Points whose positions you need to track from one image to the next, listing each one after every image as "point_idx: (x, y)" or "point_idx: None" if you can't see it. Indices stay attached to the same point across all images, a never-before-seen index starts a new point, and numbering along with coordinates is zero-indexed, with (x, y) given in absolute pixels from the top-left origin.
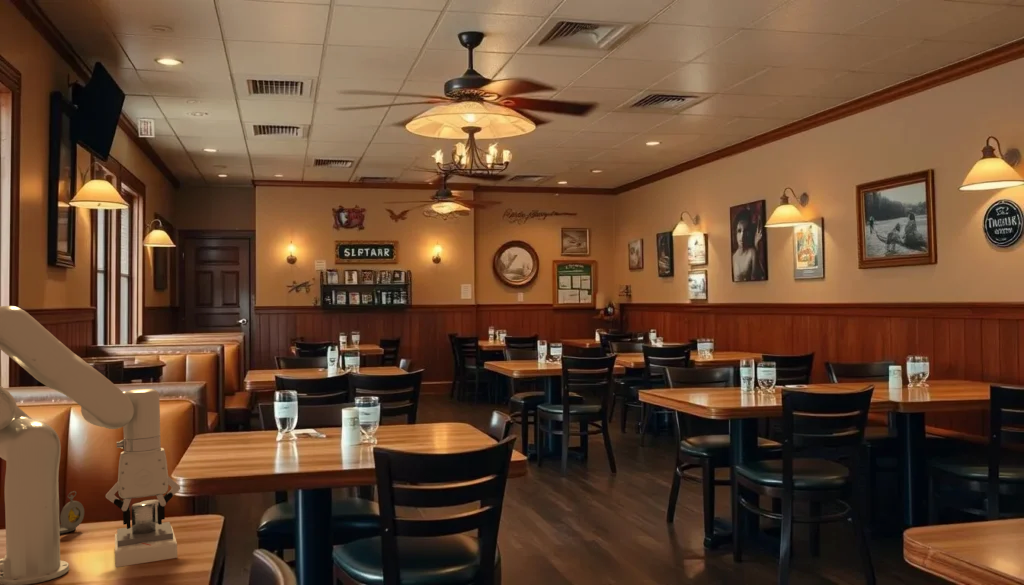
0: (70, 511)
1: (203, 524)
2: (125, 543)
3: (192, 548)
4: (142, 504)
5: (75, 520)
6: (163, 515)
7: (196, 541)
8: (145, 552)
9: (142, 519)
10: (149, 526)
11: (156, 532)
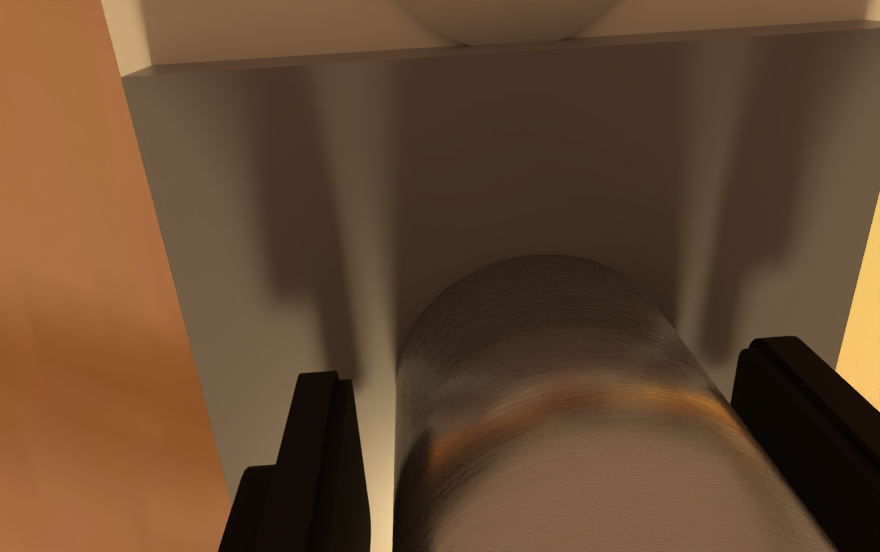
0: None
1: None
2: (785, 28)
3: (11, 105)
4: None
5: None
6: (253, 497)
7: (31, 340)
8: None
9: (616, 371)
10: (477, 318)
11: (378, 249)
